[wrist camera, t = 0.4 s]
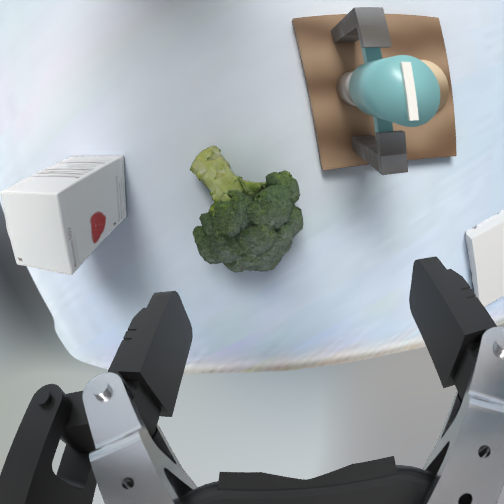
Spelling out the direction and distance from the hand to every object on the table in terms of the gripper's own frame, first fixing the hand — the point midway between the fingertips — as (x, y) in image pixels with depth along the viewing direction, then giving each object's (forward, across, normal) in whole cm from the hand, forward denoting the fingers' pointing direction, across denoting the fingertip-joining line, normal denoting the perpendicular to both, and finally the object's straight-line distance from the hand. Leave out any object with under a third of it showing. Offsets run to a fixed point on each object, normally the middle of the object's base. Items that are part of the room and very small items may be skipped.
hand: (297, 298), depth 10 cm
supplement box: (+28, +25, 0) cm, 38 cm away
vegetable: (+28, +6, +6) cm, 30 cm away
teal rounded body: (+19, -9, -5) cm, 22 cm away
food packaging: (+28, -38, +19) cm, 51 cm away
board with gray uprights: (+28, -13, -5) cm, 32 cm away
